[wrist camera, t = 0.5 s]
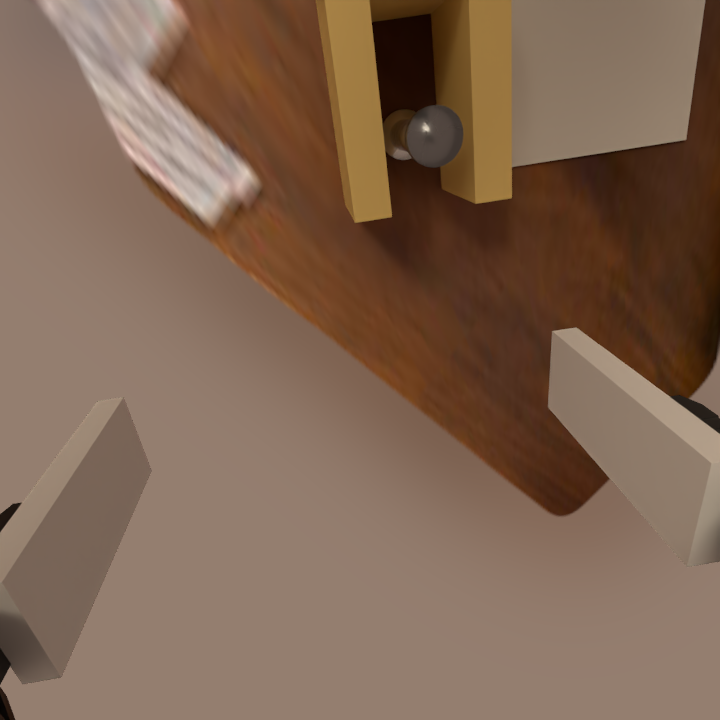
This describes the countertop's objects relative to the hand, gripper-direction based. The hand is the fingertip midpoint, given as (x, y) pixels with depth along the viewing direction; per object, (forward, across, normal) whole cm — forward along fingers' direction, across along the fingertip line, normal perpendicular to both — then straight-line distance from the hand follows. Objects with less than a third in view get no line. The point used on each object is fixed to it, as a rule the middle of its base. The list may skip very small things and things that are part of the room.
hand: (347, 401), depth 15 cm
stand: (+24, +7, +6) cm, 26 cm away
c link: (+24, +7, +9) cm, 27 cm away
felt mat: (+24, +20, +9) cm, 33 cm away
